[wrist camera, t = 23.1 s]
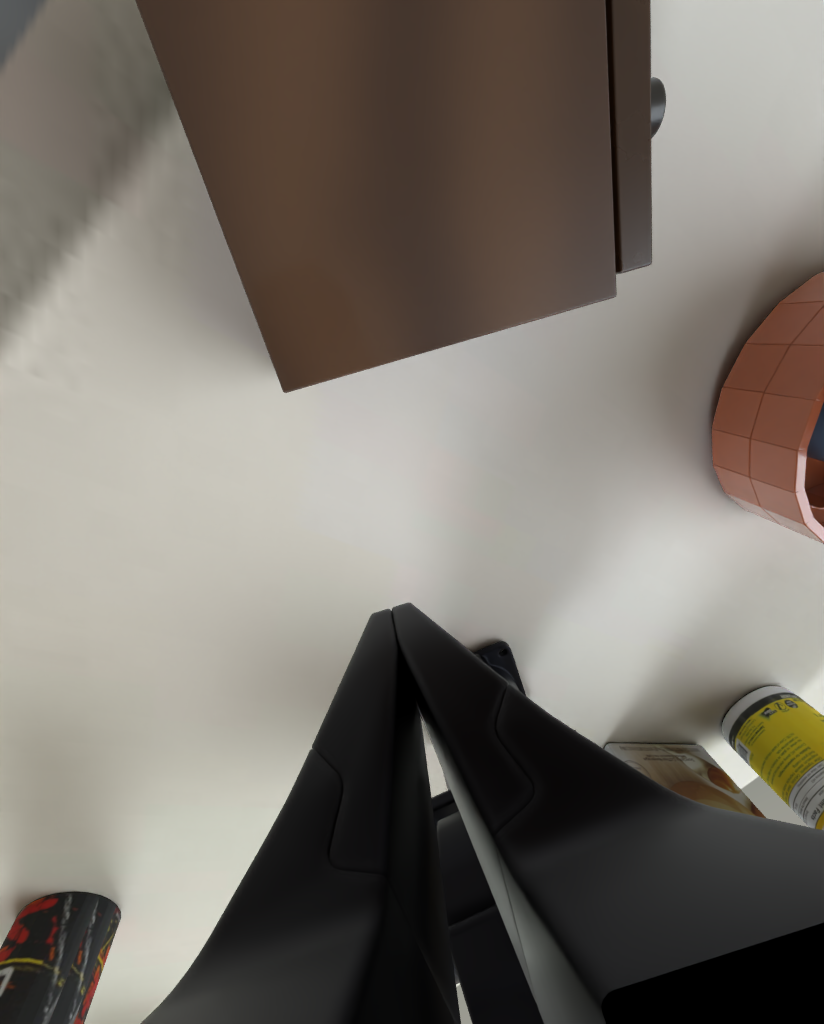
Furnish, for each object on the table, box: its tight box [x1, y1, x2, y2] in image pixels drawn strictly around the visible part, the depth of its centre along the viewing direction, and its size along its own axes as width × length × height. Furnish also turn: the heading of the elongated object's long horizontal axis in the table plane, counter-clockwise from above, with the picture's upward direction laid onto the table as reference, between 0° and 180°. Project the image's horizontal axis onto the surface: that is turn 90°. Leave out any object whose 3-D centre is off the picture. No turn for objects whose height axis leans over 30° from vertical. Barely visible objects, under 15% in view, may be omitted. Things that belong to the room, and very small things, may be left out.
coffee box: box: [604, 743, 766, 818], centre depth 26 cm, size 9×6×16 cm
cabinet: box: [135, 0, 616, 393], centre depth 14 cm, size 11×10×5 cm
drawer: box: [605, 0, 666, 274], centre depth 14 cm, size 12×9×3 cm
